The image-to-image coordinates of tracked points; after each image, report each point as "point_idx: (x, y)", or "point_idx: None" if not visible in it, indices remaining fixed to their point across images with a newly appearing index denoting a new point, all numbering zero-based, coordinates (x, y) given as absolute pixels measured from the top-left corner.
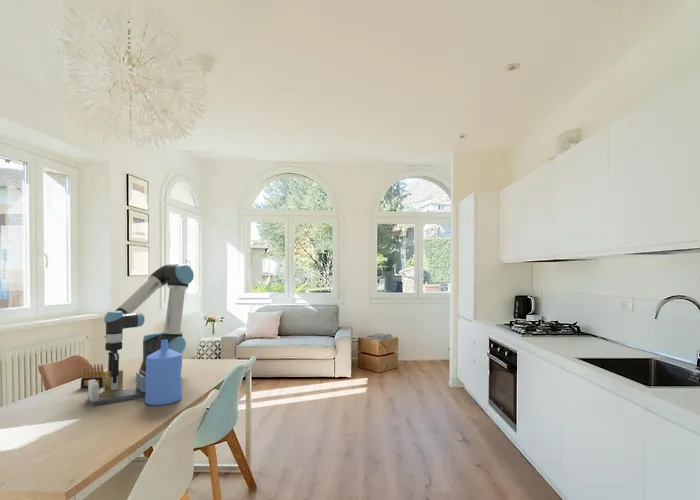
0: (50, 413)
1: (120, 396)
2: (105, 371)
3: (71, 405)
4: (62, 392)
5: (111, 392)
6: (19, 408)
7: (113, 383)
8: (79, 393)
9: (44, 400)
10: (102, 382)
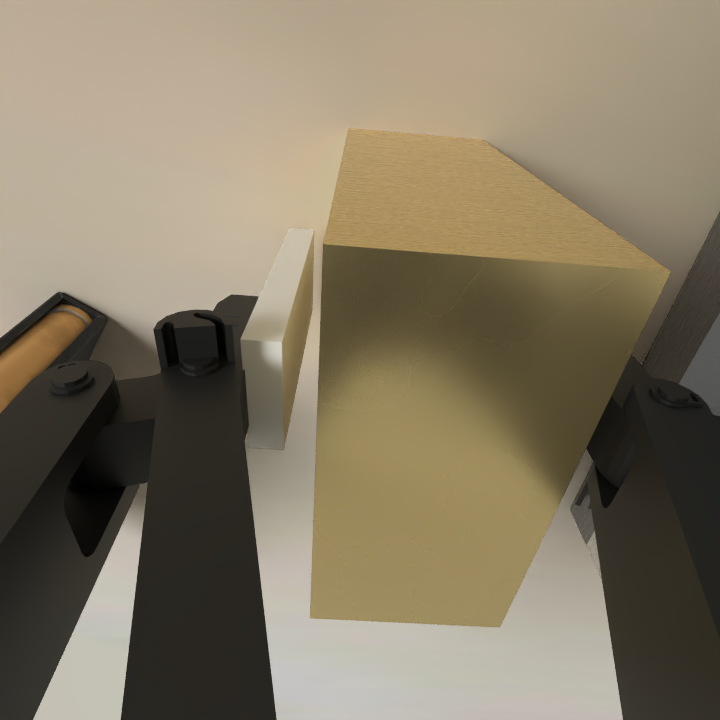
0: None
1: None
2: (368, 602)
3: (599, 589)
4: (127, 576)
5: (713, 379)
6: (389, 711)
7: None
8: (257, 512)
9: (303, 650)
10: (70, 354)
